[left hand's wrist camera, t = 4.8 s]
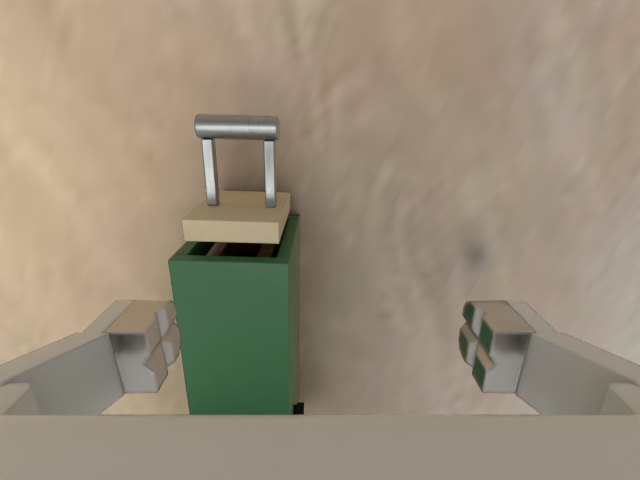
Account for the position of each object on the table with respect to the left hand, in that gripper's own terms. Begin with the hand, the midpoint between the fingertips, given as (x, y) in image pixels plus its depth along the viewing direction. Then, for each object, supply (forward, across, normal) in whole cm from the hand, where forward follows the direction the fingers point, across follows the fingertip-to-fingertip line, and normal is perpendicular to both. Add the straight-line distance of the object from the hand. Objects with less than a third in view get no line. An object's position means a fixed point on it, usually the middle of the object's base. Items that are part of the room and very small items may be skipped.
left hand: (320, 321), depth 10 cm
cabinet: (+16, -5, -11) cm, 20 cm away
